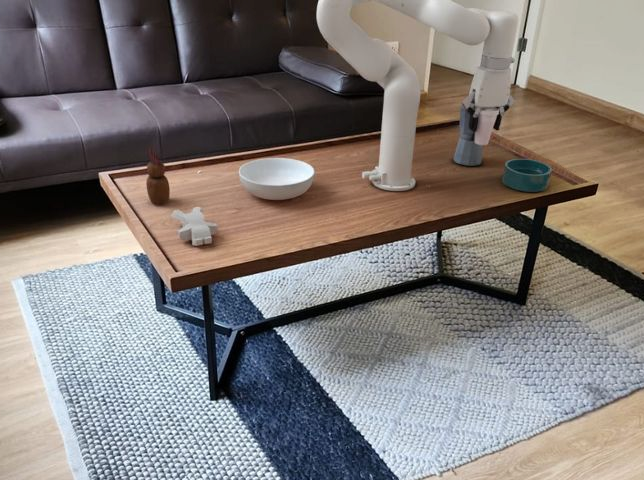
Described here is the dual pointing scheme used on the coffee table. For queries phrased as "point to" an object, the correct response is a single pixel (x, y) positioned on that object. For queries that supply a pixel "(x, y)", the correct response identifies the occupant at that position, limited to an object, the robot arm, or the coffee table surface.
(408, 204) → the coffee table surface
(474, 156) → the moka pot
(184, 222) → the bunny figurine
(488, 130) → the smoothie
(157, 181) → the wooden figurine
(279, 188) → the serving bowl
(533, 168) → the bowl
